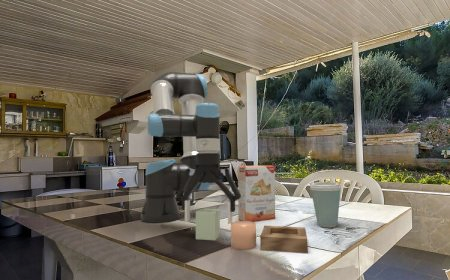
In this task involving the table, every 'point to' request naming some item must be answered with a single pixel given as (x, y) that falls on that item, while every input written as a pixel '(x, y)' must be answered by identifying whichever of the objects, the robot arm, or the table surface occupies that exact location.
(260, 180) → the cracker box
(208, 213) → the sage block
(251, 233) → the peach block
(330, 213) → the disposable coffee cup
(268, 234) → the walnut base
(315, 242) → the table surface
